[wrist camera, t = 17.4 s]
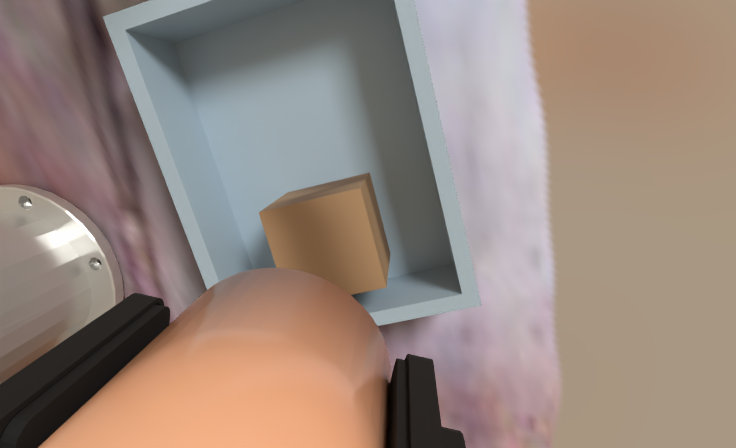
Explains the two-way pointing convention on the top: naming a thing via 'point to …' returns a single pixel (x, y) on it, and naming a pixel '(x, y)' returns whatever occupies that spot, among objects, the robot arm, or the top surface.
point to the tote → (299, 131)
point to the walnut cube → (331, 233)
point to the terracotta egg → (249, 374)
